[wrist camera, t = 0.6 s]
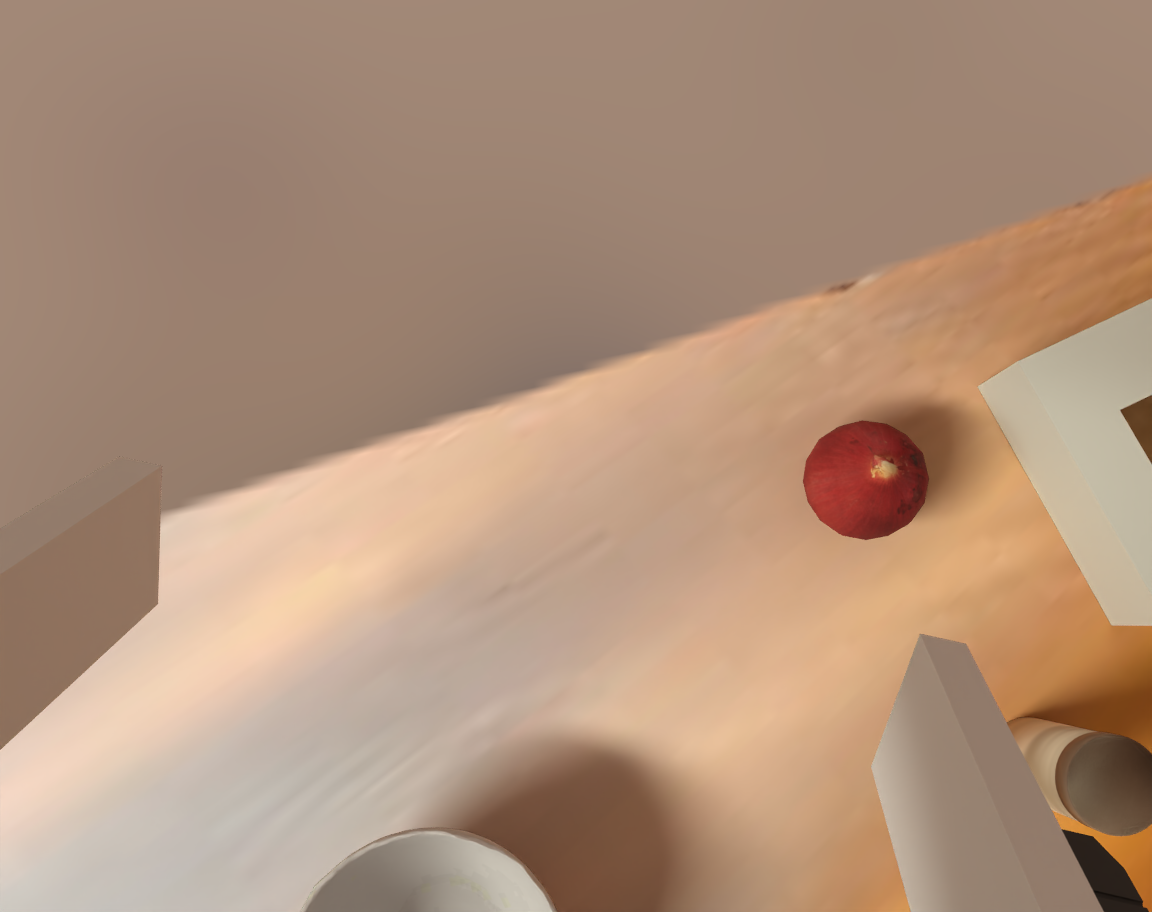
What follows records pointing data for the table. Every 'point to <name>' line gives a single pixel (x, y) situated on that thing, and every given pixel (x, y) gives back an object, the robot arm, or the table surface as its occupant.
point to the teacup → (430, 877)
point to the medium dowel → (1089, 774)
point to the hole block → (1089, 452)
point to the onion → (865, 480)
